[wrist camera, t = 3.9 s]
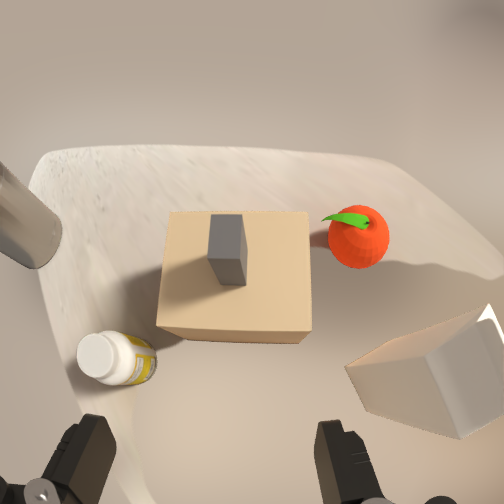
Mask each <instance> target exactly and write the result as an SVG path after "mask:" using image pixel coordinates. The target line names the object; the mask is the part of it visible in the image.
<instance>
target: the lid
mask: <svg viewBox="0 0 504 504" xmlns="http://www.w3.org/2000/svg"><path fill="white" fill-rule="evenodd" d="M311 320H312V317H311V268H310V241H309V220H308V212H273V211H206V212H170V216H169V223H168V229H167V236H166V243H165V250H164V258H163V266H162V274H161V282H160V291H159V300H158V310H157V321H156V326H158V327H167V328H181V329H198V330H218V331H247V332H311V331H312V321H311Z"/></svg>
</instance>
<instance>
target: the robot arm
mask: <svg viewBox="0 0 504 504" xmlns="http://www.w3.org/2000/svg"><path fill="white" fill-rule="evenodd" d="M61 235H62V226H61V222H60V219H59V218H58V217H57V215H56V214H55V213H53V212H52V211H51V210H50V209H49V208H48V207H47V206H46V205H45V204H44V203H43V202H42V201H40V200H39V199H38V198H37V197H36V196H35V195H34V194H33V193H32V192H31V191H30V190H29V189H28V188H27V187H26V186H24V185H23V184H22V183H21V182H20V181H19V180H18V179H17V178H16V177H15V176H14V175H13V174H12V173H11V172H10V171H9V170H8V169H7V168H6V167H5V166H4V165H3V164H2V163H1V162H0V252H2V253H3V254H5V255H7V256H8V257H10V258H11V259H13V260H15V261H16V262H18V263H20V264H21V265H23V266H25V267H27V268H29V269H36V268H39V267H41V266H43V265H45V264H46V263H47V262H48V261H49V260H50V259H51V258H52V257H53V255H54V254H55V252H56V250H57V248H58V246H59V243H60V240H61ZM115 455H116V441H115V438H114V436H113V434H112V432H111V429H110V427H109V425H108V423H107V420H106V418H105V417H103V416H98V415H93V414H85V415H84V416H83V418H82V420H81V421H80V423H79V424H73V425H72V426H71V427H70V428H69V429H68V430H66V432H65V433H64V435H63V437H62V439H61V442H60V443H59V444H58V446H57V450H55V452H54V454H53V456H52V457H51V459H50V461H49V463H48V465H47V467H46V469H45V471H44V473H43V475H42V477H41V478H37V479H33V480H31V481H30V482H29V483H27V485H18V484H8V483H7V482H6V481H5V480H4V479H3V478H2V477H1V476H0V504H98V502H99V499H100V496H101V494H102V490H103V487H104V485H105V482H106V479H107V477H108V473H109V471H110V468H111V466H112V463H113V460H114V457H115ZM314 459H315V464H316V469H317V474H318V479H319V484H320V489H321V493H322V498H323V503H324V504H394V503H392V502H391V501H389V500H387V499H386V498H385V497H384V495H383V494H382V492H381V489H380V486H379V483H378V480H377V478H376V475H375V472H374V469H373V466H372V464H371V462H370V458H369V455H368V453H367V450H366V447H365V445H364V442H363V440H362V439H361V438H360V437H359V436H358V435H357V434H356V433H355V432H354V431H350V432H344V430H343V427H342V424H341V421H340V420H331V421H321V422H319V423H318V429H317V434H316V439H315V444H314ZM425 504H457V503H456V502H455V501H454V500H453V499H451V498H449V497H446V496H437V497H433V498H431V499H429V500H428V501H427V502H426V503H425Z"/></svg>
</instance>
